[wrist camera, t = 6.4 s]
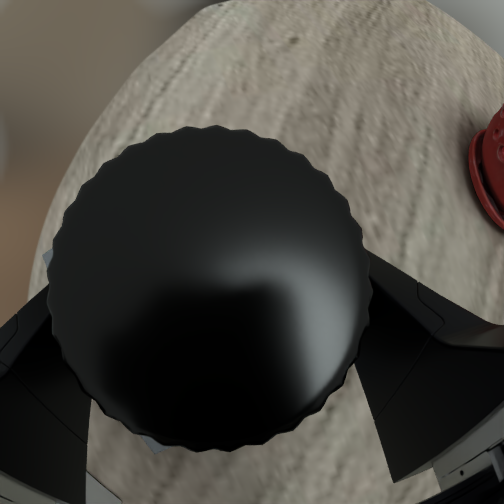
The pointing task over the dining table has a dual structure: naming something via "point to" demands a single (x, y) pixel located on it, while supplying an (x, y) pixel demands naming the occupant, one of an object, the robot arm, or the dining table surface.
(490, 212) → the plant pot
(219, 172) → the supplement bottle
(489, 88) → the dining table surface
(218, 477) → the dining table surface
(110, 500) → the milk carton
